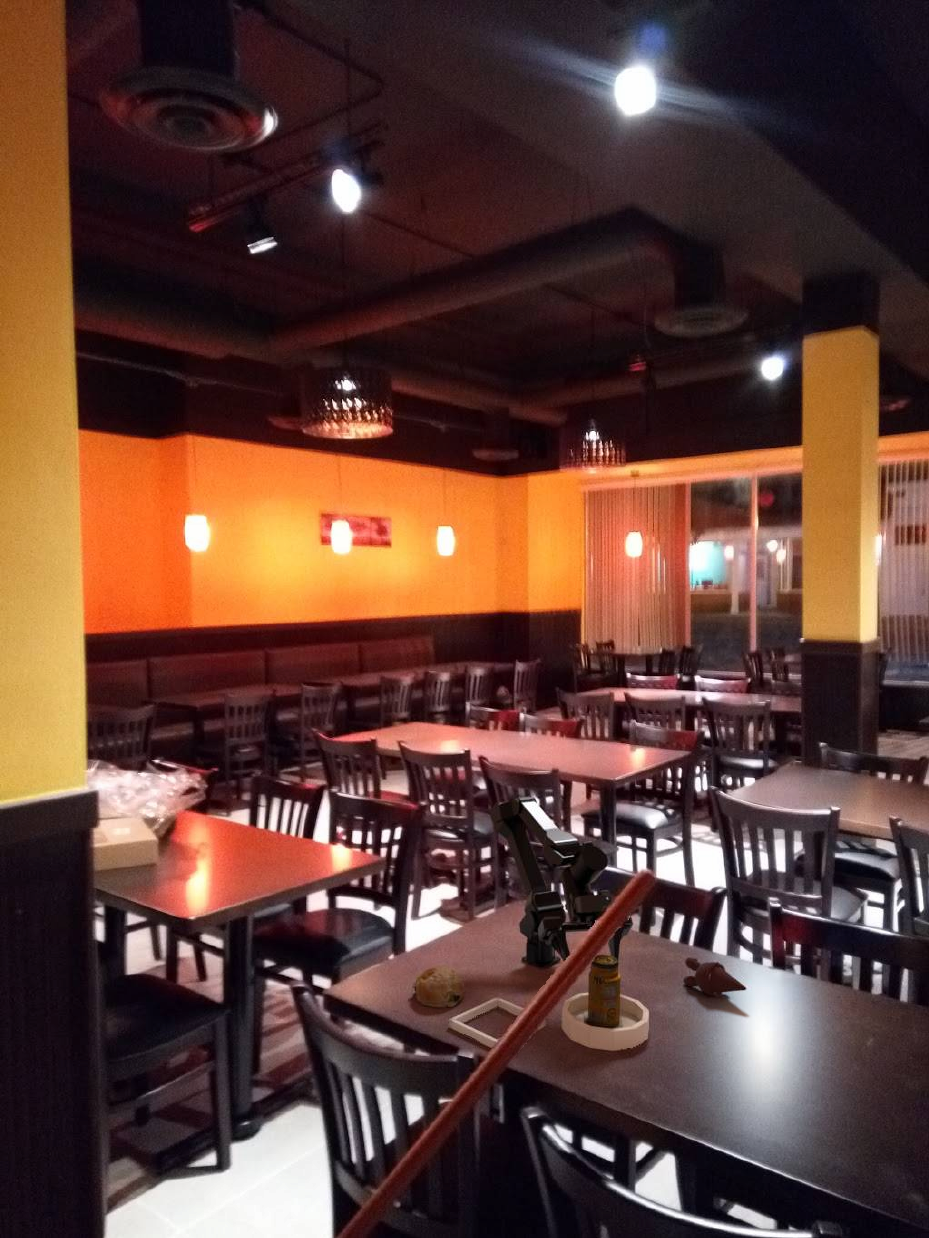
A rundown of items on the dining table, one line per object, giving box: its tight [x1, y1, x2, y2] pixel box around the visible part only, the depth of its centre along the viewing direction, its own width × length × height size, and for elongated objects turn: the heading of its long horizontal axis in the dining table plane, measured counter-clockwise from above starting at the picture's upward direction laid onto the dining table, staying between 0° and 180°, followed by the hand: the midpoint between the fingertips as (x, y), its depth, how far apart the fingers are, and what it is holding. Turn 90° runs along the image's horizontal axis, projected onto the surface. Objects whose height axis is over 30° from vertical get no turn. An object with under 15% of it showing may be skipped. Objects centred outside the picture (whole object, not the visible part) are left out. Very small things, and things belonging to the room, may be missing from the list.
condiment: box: [584, 954, 623, 1029], centre depth 170 cm, size 7×8×12 cm
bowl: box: [561, 992, 650, 1052], centre depth 170 cm, size 16×16×4 cm
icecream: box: [683, 957, 747, 998], centre depth 185 cm, size 7×7×15 cm
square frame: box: [448, 996, 547, 1049], centre depth 170 cm, size 14×13×2 cm
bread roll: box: [412, 965, 465, 1009], centre depth 182 cm, size 10×10×8 cm
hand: (594, 968), depth 176 cm, fingers open, 9 cm apart
